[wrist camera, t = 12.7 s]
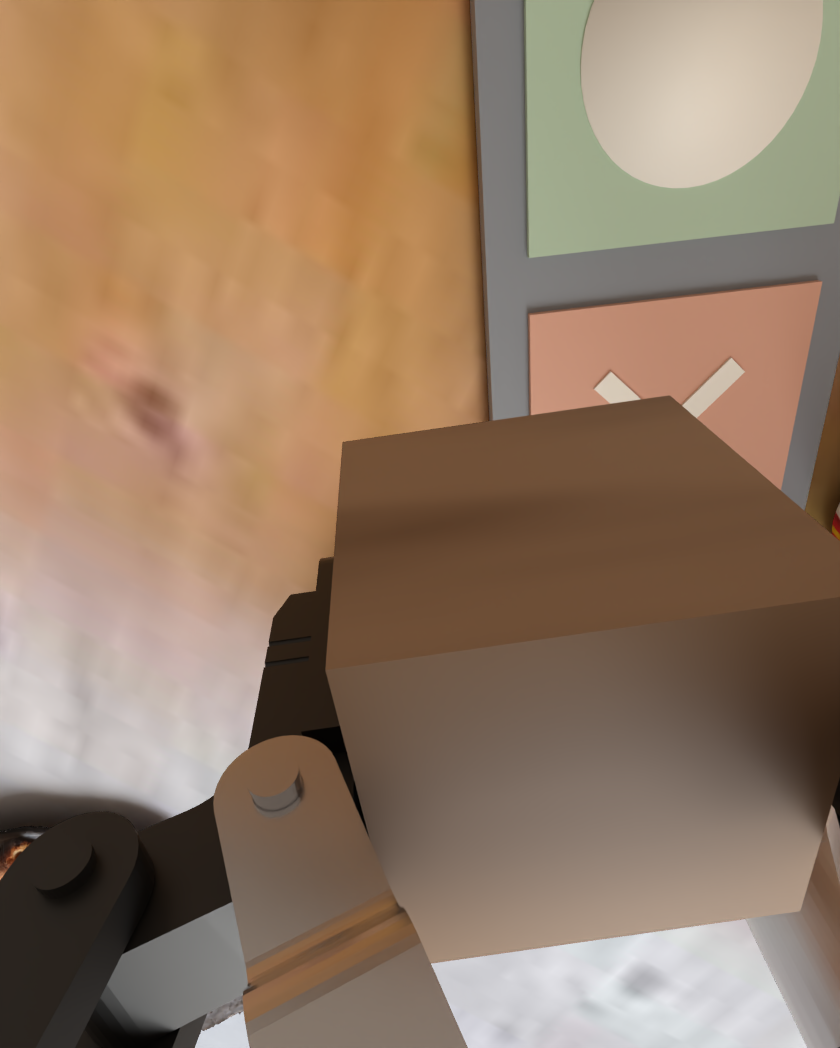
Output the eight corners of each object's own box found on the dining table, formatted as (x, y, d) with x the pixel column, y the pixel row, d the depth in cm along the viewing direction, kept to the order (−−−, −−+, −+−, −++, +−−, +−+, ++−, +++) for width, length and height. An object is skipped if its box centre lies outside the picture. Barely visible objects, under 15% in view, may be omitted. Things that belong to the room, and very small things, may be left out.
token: (652, 646, 13) (800, 911, 8) (390, 683, 13) (403, 967, 8) (669, 395, 10) (896, 588, 6) (342, 442, 10) (325, 670, 6)
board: (785, 533, 32) (801, 548, 31) (496, 567, 32) (501, 584, 31) (949, -247, 19) (989, -273, 18) (460, -195, 19) (467, -218, 18)
